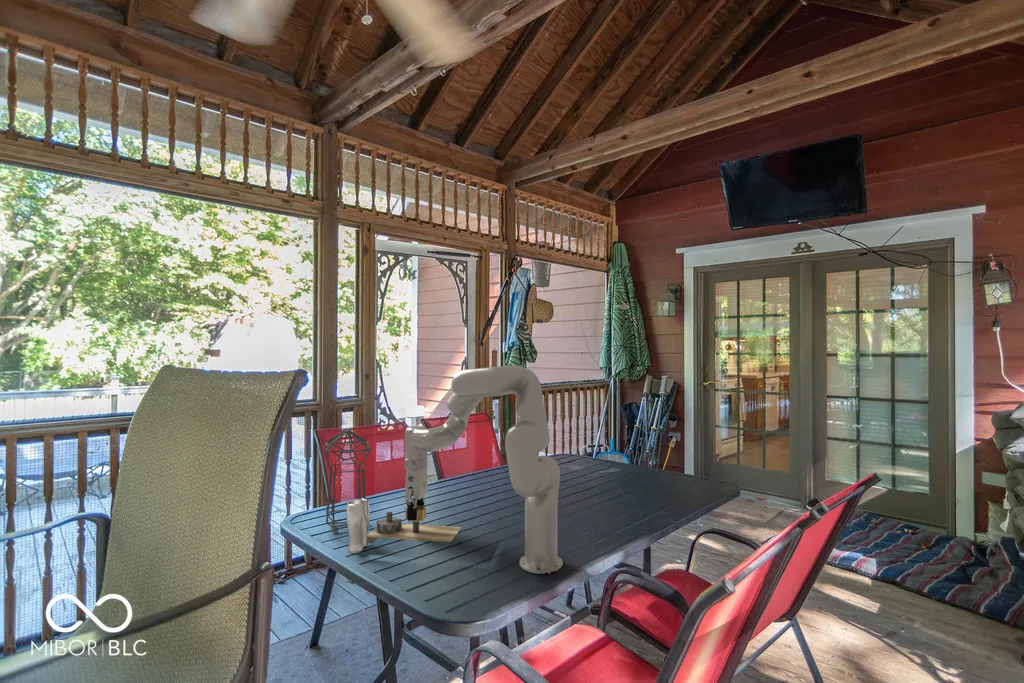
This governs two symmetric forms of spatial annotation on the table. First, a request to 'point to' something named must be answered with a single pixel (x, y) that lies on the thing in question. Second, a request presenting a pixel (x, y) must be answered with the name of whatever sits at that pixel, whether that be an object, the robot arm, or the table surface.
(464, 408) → the robot arm
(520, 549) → the table surface
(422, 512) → the brass gear
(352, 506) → the beer glass
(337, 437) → the geometric lantern
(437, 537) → the gear board
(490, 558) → the table surface
